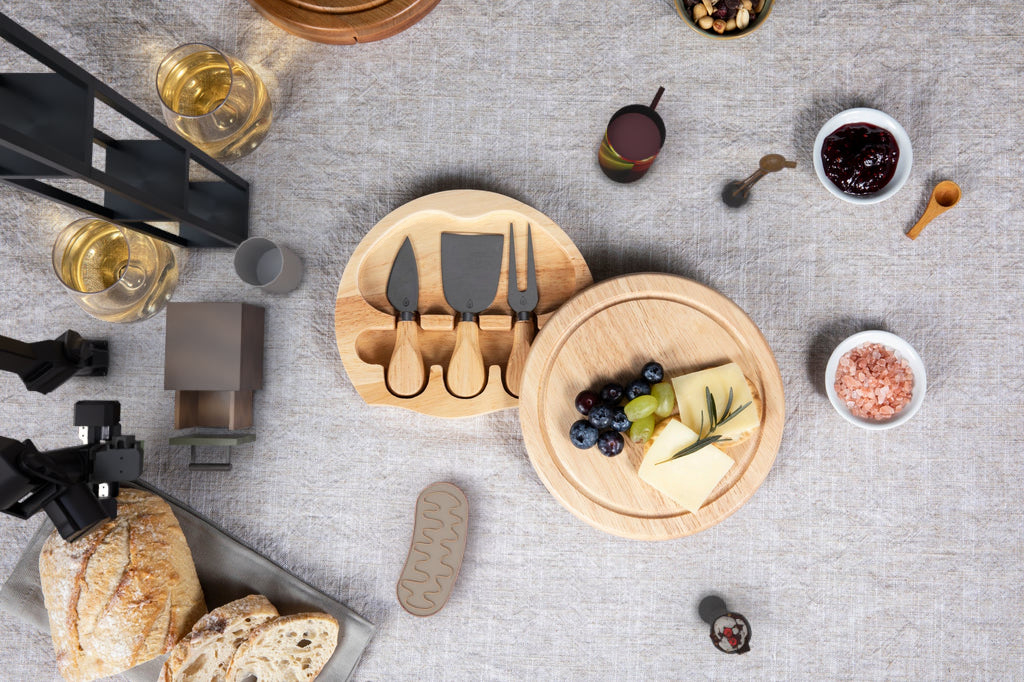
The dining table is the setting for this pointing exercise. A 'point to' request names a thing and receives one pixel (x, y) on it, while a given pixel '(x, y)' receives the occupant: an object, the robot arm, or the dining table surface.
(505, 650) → the dining table surface
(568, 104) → the dining table surface
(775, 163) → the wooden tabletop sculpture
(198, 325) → the cabinet
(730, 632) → the sundae
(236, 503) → the dining table surface
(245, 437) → the drawer
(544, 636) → the dining table surface
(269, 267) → the cup
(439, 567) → the mitochondrion model
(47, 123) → the rack
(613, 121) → the mug
